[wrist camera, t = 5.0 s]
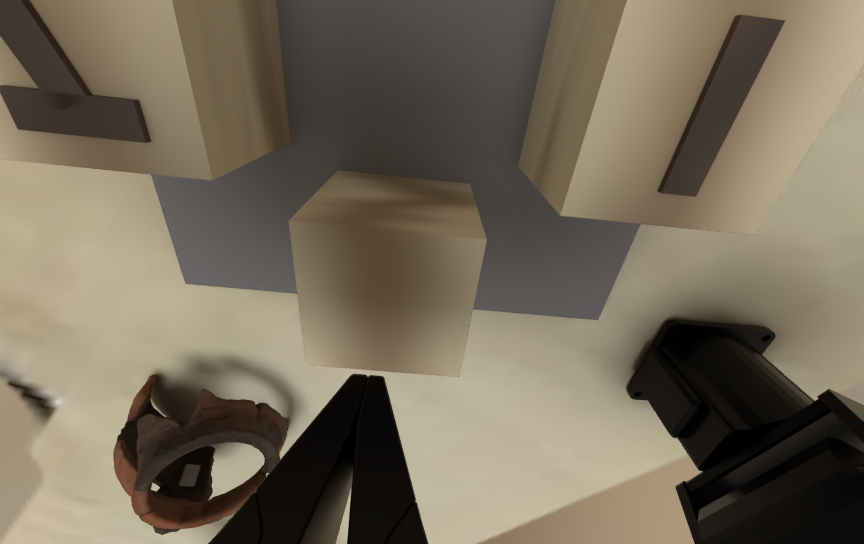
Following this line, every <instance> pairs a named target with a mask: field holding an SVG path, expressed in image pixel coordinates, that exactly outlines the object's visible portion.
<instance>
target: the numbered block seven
mask: <svg viewBox="0 0 864 544" xmlns="http://www.w3.org/2000/svg"><path fill="white" fill-rule="evenodd" d="M290 142H291V140H290V130H289V121H288V111H287V101H286V92H285V82H284V72H283V63H282V53H281V43H280V34H279V24H278V14H277V5H276V0H0V159H4V160H14V161H24V162H34V163H44V164H54V165H64V166H74V167H84V168H93V169H103V170H113V171H123V172H133V173H143V174H153V175H163V176H173V177H183V178H192V179H202V180H212V181H213V180H215V179H217V178H219V177H221V176H223V175H225V174H227V173H229V172H231V171H233V170H235V169H237V168H239V167H241V166H243V165H245V164H247V163H249V162H251V161H253V160H255V159H258V158H260V157H262V156H264V155H266V154H268V153H270V152H272V151H274V150H276V149H278V148H280V147H282V146H284V145H286V144H288V143H290Z"/></svg>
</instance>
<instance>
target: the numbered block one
mask: <svg viewBox="0 0 864 544" xmlns="http://www.w3.org/2000/svg"><path fill="white" fill-rule="evenodd" d="M863 65H864V0H555V4H554V9H553V13H552V18H551V22H550V27H549V31H548V36H547V40H546V44H545V49H544V53H543V58H542V62H541V67H540V71H539V75H538V80H537V84H536V89H535V93H534V98H533V102H532V107H531V111H530V115H529V120H528V124H527V129H526V133H525V138H524V142H523V147H522V151H521V155H520V160H519V164H518V167H519V168H520V169H521V171H522V172H523V173H524V174H525V175H526V176H527V177H528V179H529V180H530V181H531V182H532V183H533V184H534V186H535V187H536V188H537V189H538V190H539V191H540V193H541V194H542V195H543V196H544V197H545V198H546V200H547V201H548V202H549V203H550V204H551V205H552V207H553V208H554V209H555V210H556V211H557V212H558V214H559V215H560V216H569V217H579V218H589V219H598V220H608V221H618V222H628V223H638V224H648V225H658V226H668V227H678V228H687V229H697V230H707V231H717V232H727V233H737V234H747V235H756V233H757V231H758V230H759V228H760V227H761V225H762V224H763V222H764V220H765V219H766V217H767V216H768V214H769V213H770V211H771V209H772V208H773V206H774V205H775V203H776V202H777V200H778V198H779V197H780V195H781V194H782V192H783V190H784V189H785V187H786V186H787V184H788V183H789V181H790V179H791V178H792V176H793V175H794V173H795V172H796V170H797V168H798V167H799V165H800V164H801V162H802V161H803V159H804V157H805V156H806V154H807V153H808V151H809V150H810V148H811V146H812V145H813V143H814V142H815V140H816V139H817V137H818V135H819V134H820V132H821V131H822V129H823V128H824V126H825V124H826V123H827V121H828V120H829V118H830V117H831V115H832V113H833V112H834V110H835V109H836V107H837V106H838V104H839V102H840V101H841V99H842V98H843V96H844V95H845V93H846V91H847V90H848V88H849V87H850V85H851V84H852V82H853V80H854V79H855V77H856V76H857V74H858V73H859V71H860V69H861V68H862V66H863Z"/></svg>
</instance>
